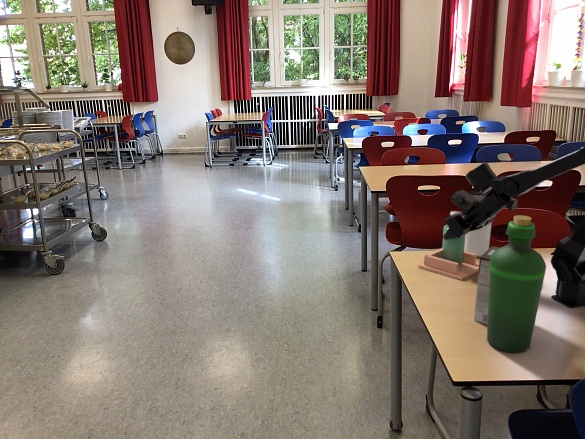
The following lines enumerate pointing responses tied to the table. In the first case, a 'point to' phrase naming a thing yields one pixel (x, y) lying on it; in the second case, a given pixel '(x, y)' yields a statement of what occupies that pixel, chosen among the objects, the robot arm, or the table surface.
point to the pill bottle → (478, 241)
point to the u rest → (450, 265)
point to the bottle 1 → (453, 246)
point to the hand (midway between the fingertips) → (450, 235)
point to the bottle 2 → (514, 288)
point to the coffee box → (483, 287)
